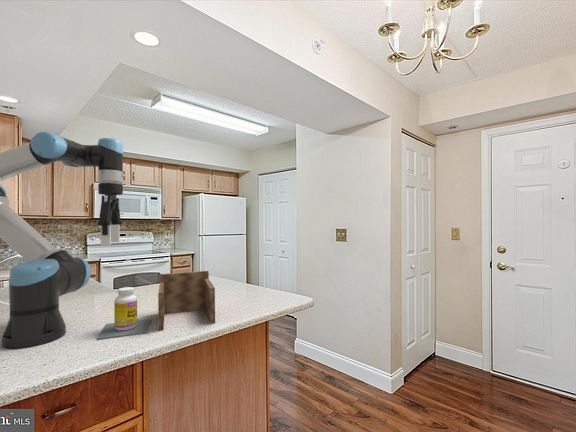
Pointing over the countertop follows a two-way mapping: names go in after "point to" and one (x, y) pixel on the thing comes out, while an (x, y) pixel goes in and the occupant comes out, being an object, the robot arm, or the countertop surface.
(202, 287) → the cubby
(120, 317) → the supplement bottle
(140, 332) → the slate mat
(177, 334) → the countertop surface
